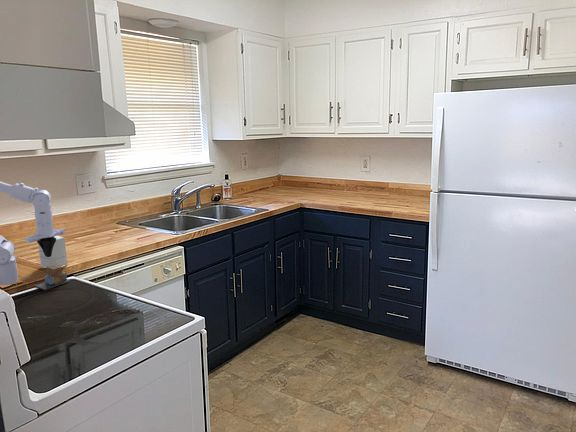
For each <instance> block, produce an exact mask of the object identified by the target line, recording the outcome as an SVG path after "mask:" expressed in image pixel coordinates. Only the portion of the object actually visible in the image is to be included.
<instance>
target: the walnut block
mask: <svg viewBox="0 0 576 432" xmlns="http://www.w3.org/2000/svg"><path fill="white" fill-rule="evenodd" d="M46 272H47V275H48V276H51V277H54V284H58V283H61V282H63V274H62V272H63V267H61V266H58V265H51V266H48V267H47V269H46Z"/></svg>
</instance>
